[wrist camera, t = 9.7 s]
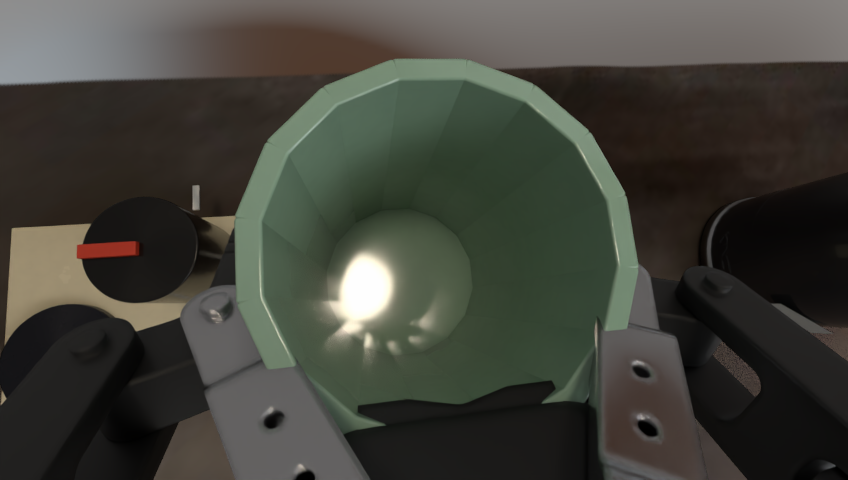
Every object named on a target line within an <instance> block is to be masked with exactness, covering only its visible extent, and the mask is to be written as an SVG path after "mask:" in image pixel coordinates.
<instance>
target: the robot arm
mask: <svg viewBox="0 0 848 480" xmlns="http://www.w3.org/2000/svg"><path fill="white" fill-rule="evenodd" d="M700 255H701V264H702V266H694V267H690V268H688V269H687V270H686V271H685V273H684V274H683V276H682V278H681V280H680V281H673V280H666V279H658V278H651V277H650V275H649V273H648V272H647V271H646V269H645V268H644V267H642V266H641V265H640V264H638V265H639V266H638V268H637V269H638V276H637V281H636V286H635V291H634V296H633V301H632V306H631V311H630V316H629V321H628V326H627V329H621V330H612V331H605V330H604V329H603V327H602V324H601V321H600V319H599V318H598V316H596V322H595V328H594V335H595V348H594V354H593V360H592V365H591V370H590V376H589V397H588V399H587V400H586V402H585V403H581V402H575V401H574V402H573V401H563V402H552V403H544V404H542V402H543V401H544V400H545V399H546V398H547V397H548V396H549V395H550V394H551V393H552V392H553V391H554V390H555V389H556V388H555V386H554V384H553V382H552V380H550V381H542V382H534V383H527V384H519V385H511V386H506V387H503V388H501V389H499V390H496V391H494V392H491V393H489V394H486V395H484V396H482V397H479V398H477V399H474V400H472V401H470V402H467V403H464V404H450V403H441V402H431V401H422V400H413V399H404V400H396V401H389V402H381V403H373V404H366V405H358V413H359V414H362V415H364V416H367V417H369V418H372V419H374V420H377V421H379V422H382V423H384V424H385V425H386V426H379V427H372V428H367V429H361V430H358V429H357V430H354V431H351V432H348V433H346V434H342V432H341V430H340V429H339V427H338V426H337V424H336V422H335V421H334V419H333V417H332V416H331V414H330V412H329V411H328V409H327V408H326V406H325V404H324V403H323V401H322V399H321V398H320V396H319V395H318V393H317V391H316V390H315V388H314V386H313V385H312V383H311V381H310V380H309V378H308V377H307V375H306V373H305V372H304V370H303V368H302V367H301V365H300V363H299V362H298V360H297V359H296V362H297V363H296V366H294V367H286V368H277V369H267V368H266V367H265V365H264V362H263V360H262V358H261V356H260V354H259V352H258V350H257V348H256V346H255V343H254V341H253V339H252V337H251V335H250V333H249V331H248V329H247V327H246V324H245V322H244V320H243V318H242V316H241V314H240V312H239V310H238V308H237V304H238V303H237V302H236V284H235V238H234V228H233V230H232V232H231V235H230V238H229V240H228V244H227V245H226V248H225V250H224V254H223V255H222V258H221V260H220V263H219V265H218V268H217V271H216V273H215V276H214V278H213V281H212V283H211V286H210V288H209V289H207V290H205V291H202V292H201V293H199V294H197V295H196V296H194V297H193V298H192V299H190V300H189V301H188V302H187V303H186V305H185V306H184V307H183V309H182V311H181V314H180V317H179V318H177V319H174V320H171V321H168V322H165V323H162V324H159V325H156V326H152V327H149V328H146V329H143V330H139V331H135V329H134V327H133V326H132V324H131V323H130V322H128V321H127V320H124V319H121V318H104V319H98V320H95V321H91V322H88V323H86V324H83V325H81V326H79V327H77V328H75V329H73V330H71V331H69V332H68V333H66V334H65V335H63V336H62V337H61V338H60V339H58V340H57V341H56V342H55V343H54V344H53V345H52V346H51V347H50V348H49V350H48V351H47V352H46V353H45V354H44V355H43V357H42V358H41V359H40V360H39V361H38V362H37V364H36V365H35V366H34V367H33V368H32V370H31V371H30V372H29V373H28V374H27V375H26V377H25V378H24V379H23V380H22V381H21V382H20V384H19V385H18V386H17V387H16V388H15V389H14V391H13V392H12V393H11V394H10V395H9V396H8V398H7V399H6V400H5V401H4V402H3V403H2V405H1V406H0V480H153V479H154V476H155V474H156V472H157V470H158V468H159V465H160V463H161V461H162V459H163V456H164V454H165V452H166V450H167V447H168V445H169V443H170V441H171V438H172V436H173V434H174V432H175V430H176V427H177V425H178V423H179V422H180V421H182V420H185V419H187V418H190V417H192V416H195V415H197V414H199V413H202V412H204V411H207V410H209V409H210V411H211V413H212V416H213V419H214V422H215V424H216V427H217V430H218V433H219V435H220V438H221V441H222V444H223V446H224V449H225V452H226V455H227V457H228V460H229V463H230V466H231V468H232V471H233V474H234V477H235V479H236V480H708V476H707V471H706V467H705V462H704V457H703V453H702V448H701V444H700V439H699V435H698V430H697V426H696V421H695V418H696V419H697V420H698V422H699V423H700V424H701V425H702V426H703V428H704V429H705V430H706V431H707V432H708V433H709V435H710V436H711V437H712V438H713V439H714V441H715V442H716V443H717V444H718V445H719V446H720V448H721V449H722V450H723V451H724V452H725V453H726V455H727V456H728V457H729V458H730V459H731V461H732V462H733V463H734V464H735V465H736V466H737V468H738V469H739V470H740V471H741V472H742V474H743V475H744V476H745V477H746V478H747V479H748V480H848V361H846V360H845V359H844V358H842V357H841V356H840V355H838V354H837V353H836V352H834V351H833V350H832V349H830V348H829V347H828V346H826V345H825V344H824V343H822V342H821V341H820V340H818V339H817V338H816V337H814V336H813V335H812V334H810V333H809V332H811V333H825V334H833V333H831V332H830V331H828V330H826V329H824V328H823V327H842V328H848V172H847V173H843V174H839V175H836V176H832V177H828V178H825V179H821V180H817V181H814V182H810V183H806V184H803V185H799V186H795V187H792V188H787V189H784V190H780V191H776V192H773V193H769V194H766V195H762V196H758V197H752V198H746V199H742V200H738V201H735V202H732V203H729V204H727V205H725V206H723V207H722V208H720V209H719V210H718V211H717V212H716V213H715V214H714V215H713V216H712V217H711V219H710V220H709V222H708V223H707V225H706V227H705V230H704V232H703V235H702V240H701V249H700ZM821 326H822V327H821ZM806 330H807V331H806ZM808 331H809V332H808ZM722 341H723V342H724V343H725V344H726V345H727V346H728V347H729V348H730V349H732V350H733V351H734V352H735V353H736V354H737V355H738V356H739V357H740V358H741V359H742V360H743V361H745V362H746V363H747V364H748V365H749V366H750V367H751V368H752V369H753V370H754V371H755V372H756V374H757V375H758V377H759V379H760V382H761V391H760V393H759V394H758V395H757V396H756V398H755V397H754V396H753V395H752V394H751V393H750V392H749V391H748V390H747V389H746V388H745V387H744V386H743V385H742V384H741V383H740V382H739V381H738V380H737V379H736V378H735V377H734V376H733V375H732V374H731V373H730V372H729V371H728V370H727V369H726V368H725V367H724V366H723V365H722V364H721V363H720V362H719V361H718V360H717V359H716V358H715V357H714V356H713V355H712V354H713V353H714V352H715V350H716V349H717V347H718V346H719V345H720V343H721V342H722ZM295 358H296V357H295Z"/></svg>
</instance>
